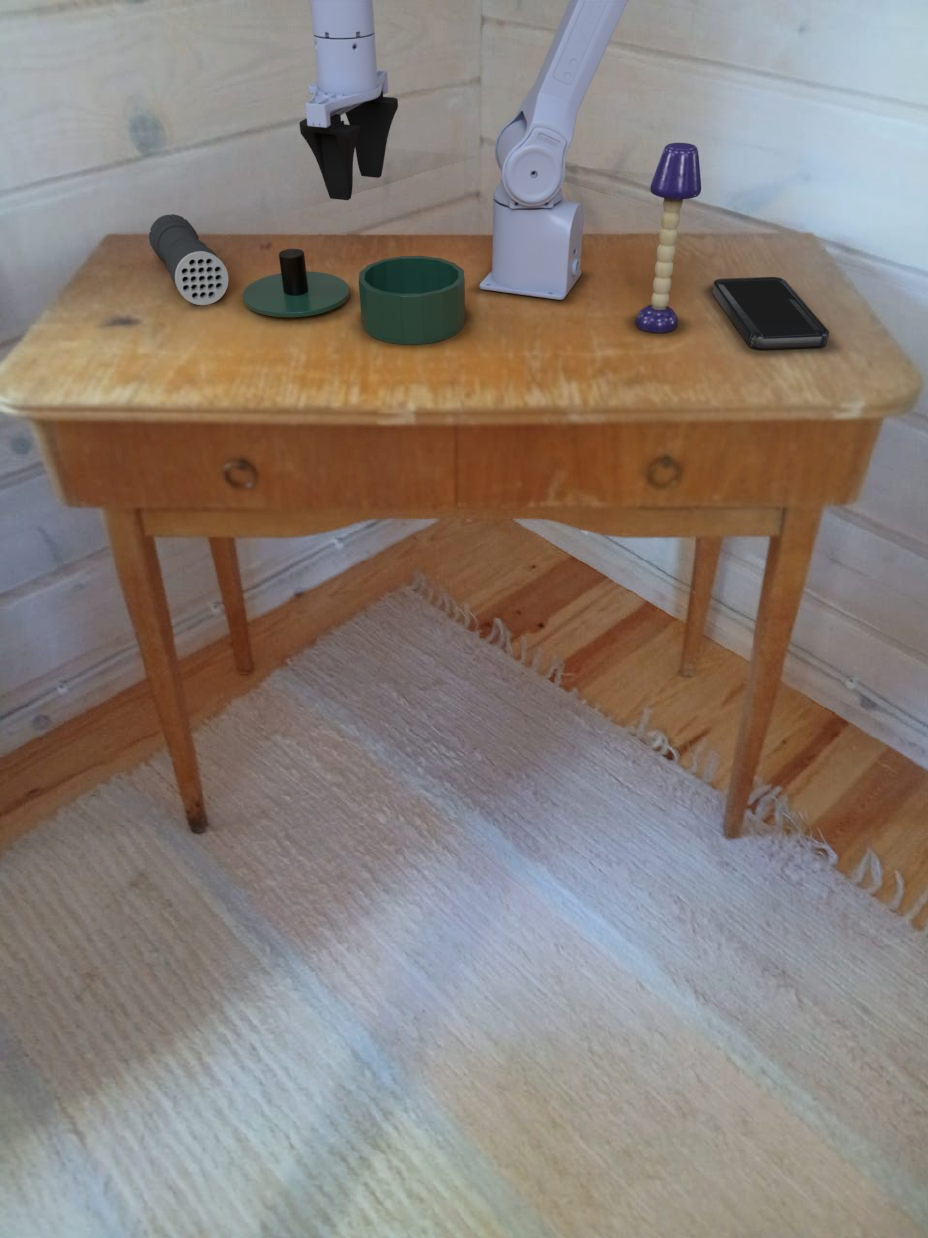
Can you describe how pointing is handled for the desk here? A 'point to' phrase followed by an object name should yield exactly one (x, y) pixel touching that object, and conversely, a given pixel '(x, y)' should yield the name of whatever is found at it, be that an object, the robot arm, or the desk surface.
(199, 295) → the flashlight
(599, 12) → the robot arm
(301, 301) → the lid
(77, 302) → the desk surface
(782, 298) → the phone
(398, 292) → the pot
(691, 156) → the toy lamp
